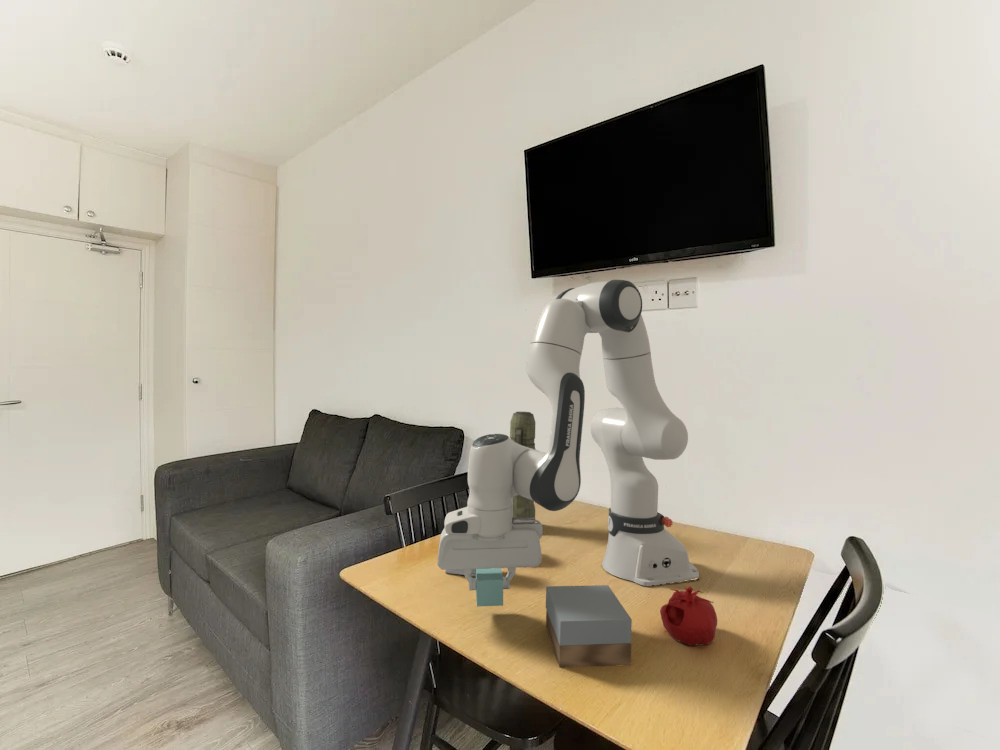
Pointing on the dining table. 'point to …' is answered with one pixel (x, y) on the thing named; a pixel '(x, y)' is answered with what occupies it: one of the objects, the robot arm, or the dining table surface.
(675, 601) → the pomegranate
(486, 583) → the teal cube
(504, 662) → the dining table surface
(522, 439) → the thermos
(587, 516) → the dining table surface
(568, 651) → the tower bottom slab
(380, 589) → the dining table surface
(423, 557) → the dining table surface
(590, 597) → the tower top slab
